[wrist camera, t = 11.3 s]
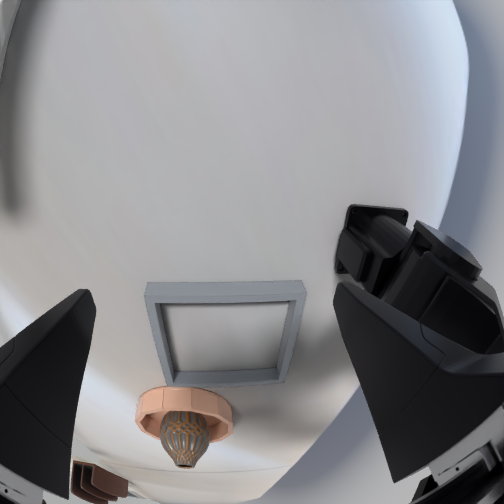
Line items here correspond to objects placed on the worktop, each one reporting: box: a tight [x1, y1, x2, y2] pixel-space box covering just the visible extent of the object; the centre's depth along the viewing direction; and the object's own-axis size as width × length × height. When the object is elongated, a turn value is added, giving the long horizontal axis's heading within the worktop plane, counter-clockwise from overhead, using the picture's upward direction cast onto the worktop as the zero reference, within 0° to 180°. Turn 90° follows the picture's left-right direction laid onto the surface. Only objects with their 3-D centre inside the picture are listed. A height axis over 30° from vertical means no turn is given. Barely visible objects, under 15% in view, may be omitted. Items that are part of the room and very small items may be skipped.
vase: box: [159, 411, 210, 468], centre depth 29 cm, size 7×7×9 cm
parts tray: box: [144, 280, 307, 387], centre depth 26 cm, size 14×14×2 cm
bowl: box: [135, 386, 233, 443], centre depth 32 cm, size 13×13×3 cm
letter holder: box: [71, 460, 128, 504], centre depth 50 cm, size 10×20×14 cm, turn 13°
